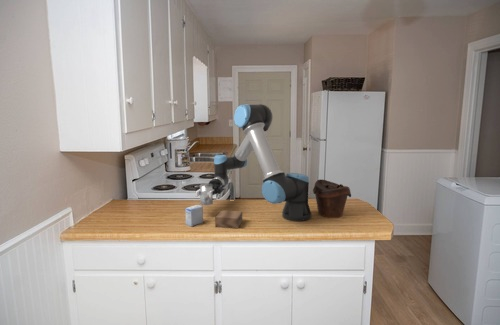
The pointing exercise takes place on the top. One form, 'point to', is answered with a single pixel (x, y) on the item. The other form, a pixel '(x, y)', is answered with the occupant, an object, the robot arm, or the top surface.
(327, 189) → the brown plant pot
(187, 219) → the medicine box
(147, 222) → the top surface
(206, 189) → the food tin
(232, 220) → the walnut block
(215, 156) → the robot arm
